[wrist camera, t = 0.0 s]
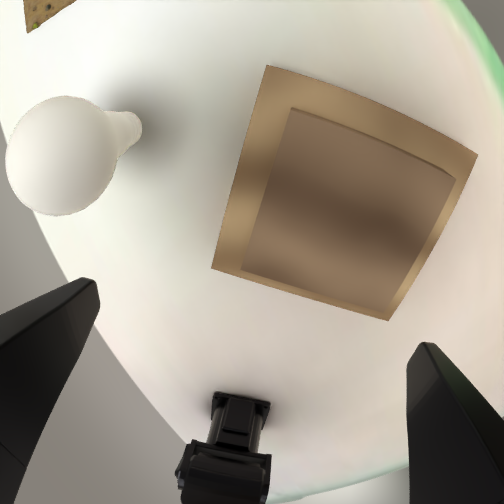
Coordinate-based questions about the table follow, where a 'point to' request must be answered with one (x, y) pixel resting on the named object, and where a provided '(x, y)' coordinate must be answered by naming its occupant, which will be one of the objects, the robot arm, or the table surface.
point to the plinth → (343, 111)
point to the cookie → (42, 11)
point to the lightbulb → (67, 153)
